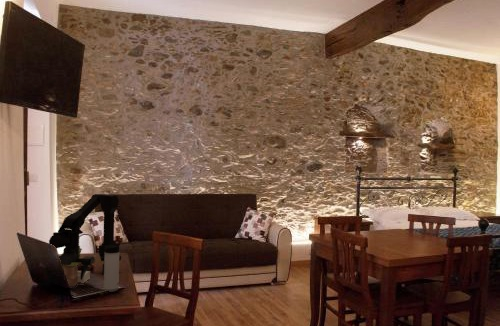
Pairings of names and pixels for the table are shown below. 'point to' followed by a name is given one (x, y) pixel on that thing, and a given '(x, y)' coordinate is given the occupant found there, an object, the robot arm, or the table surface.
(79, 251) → the plant pot
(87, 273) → the socket block
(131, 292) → the table surface
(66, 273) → the peg
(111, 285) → the travel mug
